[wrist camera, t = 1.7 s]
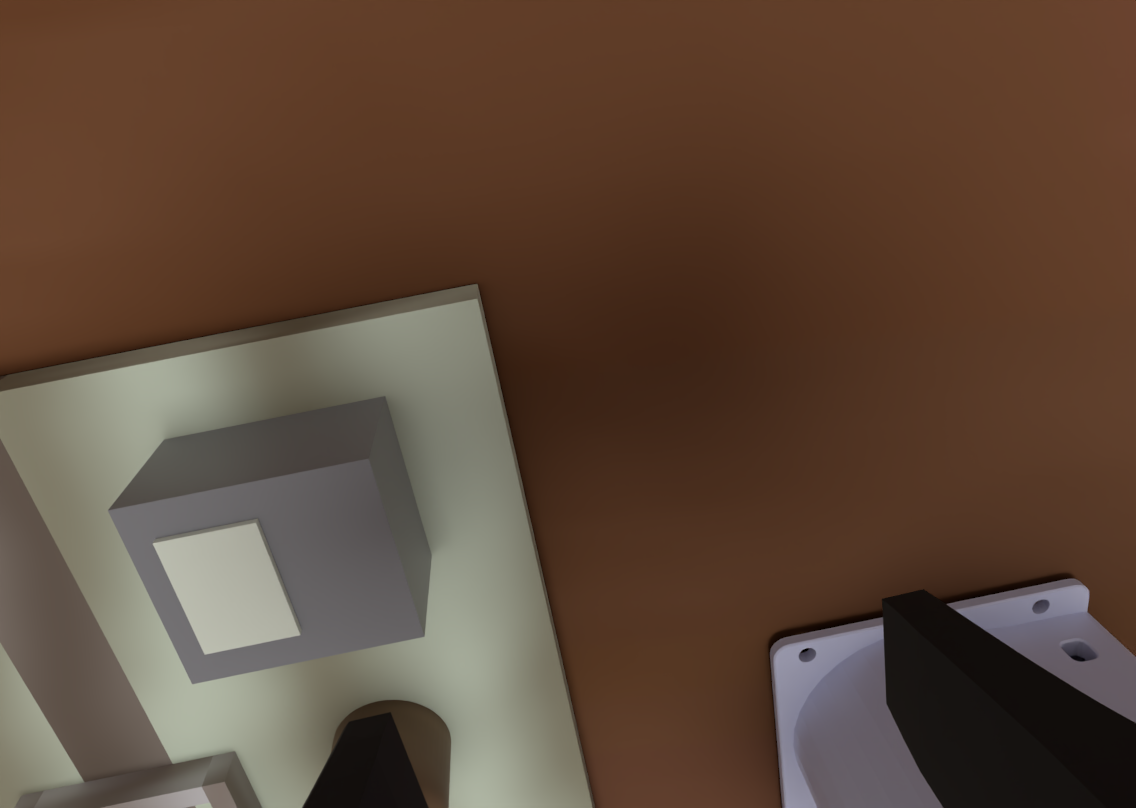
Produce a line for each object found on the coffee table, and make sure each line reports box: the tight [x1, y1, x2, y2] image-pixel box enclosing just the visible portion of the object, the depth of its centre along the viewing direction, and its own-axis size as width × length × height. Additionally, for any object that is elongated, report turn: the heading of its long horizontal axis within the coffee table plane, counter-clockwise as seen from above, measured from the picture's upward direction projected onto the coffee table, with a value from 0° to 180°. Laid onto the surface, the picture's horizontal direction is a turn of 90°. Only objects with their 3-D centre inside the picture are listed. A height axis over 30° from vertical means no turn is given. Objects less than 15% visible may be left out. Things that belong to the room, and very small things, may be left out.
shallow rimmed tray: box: [0, 284, 595, 808], centre depth 21 cm, size 16×20×2 cm
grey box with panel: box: [108, 396, 432, 684], centre depth 17 cm, size 5×4×3 cm
